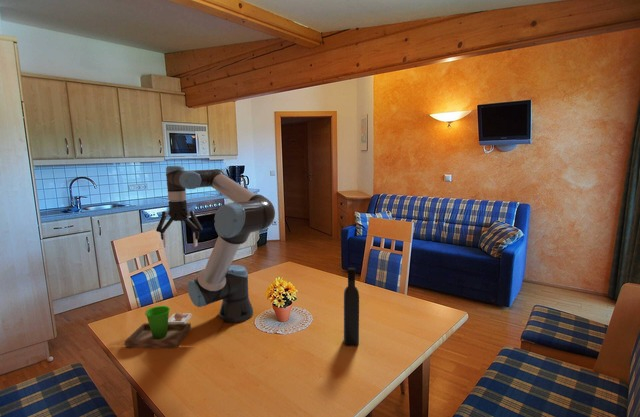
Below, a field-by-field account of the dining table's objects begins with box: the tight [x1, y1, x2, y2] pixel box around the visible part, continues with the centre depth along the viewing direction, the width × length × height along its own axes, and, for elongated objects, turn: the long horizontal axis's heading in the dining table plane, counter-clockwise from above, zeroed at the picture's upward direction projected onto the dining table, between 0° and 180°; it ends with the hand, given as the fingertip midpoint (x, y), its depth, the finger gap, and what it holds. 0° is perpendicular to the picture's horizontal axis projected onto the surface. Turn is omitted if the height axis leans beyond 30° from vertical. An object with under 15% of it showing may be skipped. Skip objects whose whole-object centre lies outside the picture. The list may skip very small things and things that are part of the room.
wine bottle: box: [343, 267, 360, 346], centre depth 134 cm, size 6×6×30 cm
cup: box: [144, 305, 171, 339], centre depth 139 cm, size 9×9×11 cm
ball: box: [174, 311, 184, 321], centre depth 154 cm, size 4×4×4 cm
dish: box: [168, 313, 193, 323], centre depth 154 cm, size 8×8×2 cm
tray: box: [124, 322, 192, 349], centre depth 140 cm, size 20×14×3 cm
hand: (180, 246), depth 159 cm, fingers open, 13 cm apart
